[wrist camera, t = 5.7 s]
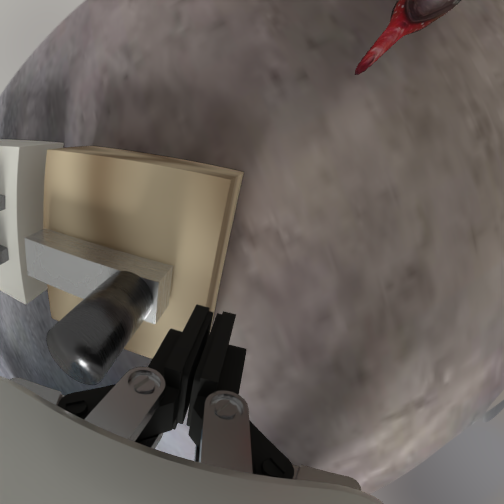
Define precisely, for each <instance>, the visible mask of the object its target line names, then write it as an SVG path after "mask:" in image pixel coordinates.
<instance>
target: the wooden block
mask: <svg viewBox="0 0 504 504" xmlns="http://www.w3.org/2000/svg"><path fill="white" fill-rule="evenodd" d="M243 174H244V172H242V171H237V170H233V169H228V168H223V167H219V166H214V165H209V164H204V163H199V162H194V161H188V160H183V159H177V158H172V157H166V156H160V155H154V154H148V153H141V152H135V151H128V150H121V149H114V148H106V147H98V146H81V147H68V148H57V149H48V150H47V155H46V165H45V179H44V202H43V229H45V228H46V229H50V230H53V231H56V232H59V233H62V234H66V235H69V236H72V237H75V238H79V239H82V240H85V241H88V242H92V243H95V244H99V245H102V246H105V247H109V248H112V249H116V250H119V251H123V252H126V253H130V254H133V255H137V256H140V257H144V258H147V259H151V260H154V261H158V262H162V263H165V264H169V265H173V272H172V280H171V289H170V298H169V305H168V307H167V308H166V310H165V311H164V313H163V314H162V316H161V317H160V319H159V320H158V322H157V323H156V324H152V323H149V322H146V321H143V322H142V324H141V325H140V327H139V328H138V329H137V331H136V332H135V333H134V335H133V336H132V338H131V339H130V340H129V342H128V343H127V345H126V346H125V347H124V349H126V350H128V351H131V352H134V353H137V354H139V355H142V356H145V357H148V358H151V359H153V357H154V356H155V354H156V352H157V350H158V349H159V347H160V345H161V343H162V342H163V340H164V338H165V336H166V335H167V333H168V331H169V330H170V329H171V328H172V329H175V330H178V331H181V332H183V330H184V328H185V326H186V324H187V322H188V320H189V318H190V316H191V314H192V312H193V310H194V308H195V306H196V305H197V304H198V305H202V306H205V307H209V308H210V309H209V311H211V312H214V311H215V306H216V301H217V296H218V291H219V286H220V281H221V276H222V271H223V266H224V261H225V256H226V252H227V247H228V242H229V237H230V233H231V228H232V223H233V219H234V214H235V210H236V205H237V201H238V196H239V192H240V187H241V183H242V178H243ZM47 288H48V296H49V304H50V310H51V317H52V318H53V319H55V320H57V321H60V320H61V319H62V318H63V317H64V316H66V315H67V314H68V313H69V312H70V311H71V310H72V309H73V308H74V307H75V306H77V305H78V304H79V303H80V302H81V301H82V300H83V299H82V298H80V297H77V296H75V295H72V294H70V293H67V292H65V291H63V290H60V289H58V288H56V287H53V286H51V285H49V284H47ZM213 316H214V313H213ZM212 321H213V319H212ZM211 326H212V324H211ZM210 331H211V329H210Z"/></svg>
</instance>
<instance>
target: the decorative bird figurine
mask: <svg viewBox="0 0 504 504" xmlns="http://www.w3.org/2000/svg"><path fill="white" fill-rule="evenodd" d="M460 1H461V0H398V1H397V3H396V4H395V6H394V8H393V11H392V15H391V20H390V23H389V25H388V27H387V28H386V30H385V31H384V32H383V33H382V34H381V36H380V37H379V38H378V39H377V41H376V42H375V43H374V45H373V46H372V47H371V48H370V50H369V51H368V52H367V53H366V55H365V56H364V57H363V58H362V60H361V62H360V63H359V64H358V66H357V68H356V70H355V75H358V74H360V73H362V72H364V71H365V70H366V69H367V68H368V67H370V66H371V65H372V64H373V63H374V62H375V61H377V60H378V58H379V57H381V56H382V55H383V54H384V53H385V52H386V51H387V50H388V49H389V48H390V47H391V46H392V45H394V44H395V43H396V42H397V41H398V40H399V39H400V38H402V37H403V36H405V35H407V34H410V33H414V32H417V31H419V30H421V29H423V28H424V27H426V26H428V25H429V24H430V23H432V22H433V21H435V20H437V19H438V18H440V17H441V16H443V15H444V14H446V13H447V12H448V11H450V10H451V9H452V8H453V7H454V6H456V5H457V4H458V3H459V2H460Z"/></svg>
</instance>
